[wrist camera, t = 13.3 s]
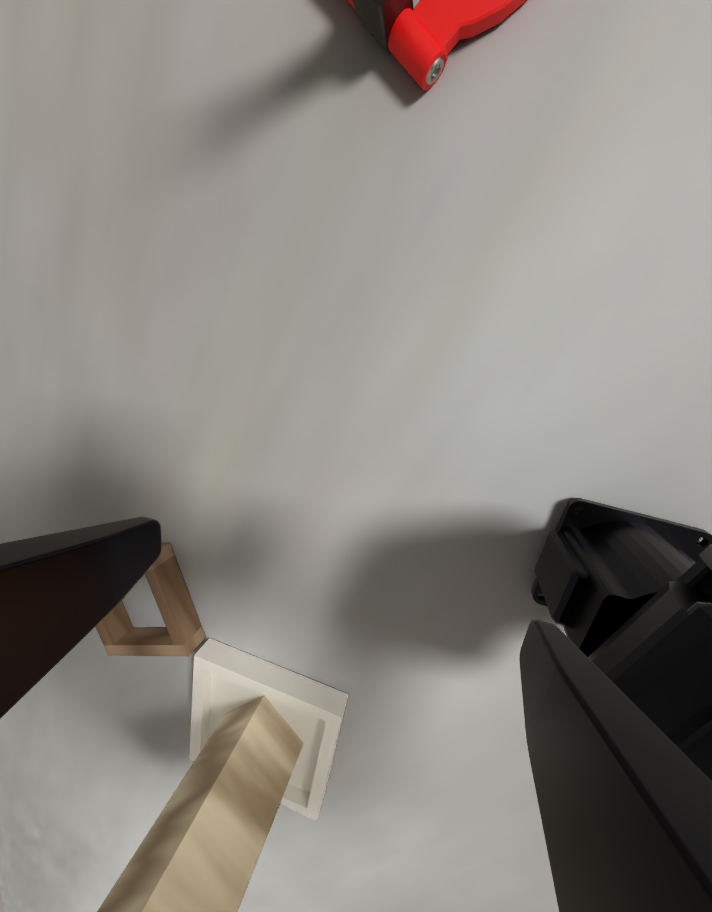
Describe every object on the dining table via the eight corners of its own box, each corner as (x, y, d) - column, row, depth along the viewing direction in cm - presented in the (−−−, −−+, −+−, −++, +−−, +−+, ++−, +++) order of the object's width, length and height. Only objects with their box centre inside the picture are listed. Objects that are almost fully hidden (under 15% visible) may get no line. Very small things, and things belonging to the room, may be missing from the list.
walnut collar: (169, 543, 27) (148, 556, 25) (205, 636, 29) (188, 656, 27) (92, 552, 30) (67, 565, 28) (129, 637, 31) (108, 655, 30)
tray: (348, 694, 26) (341, 717, 25) (324, 796, 30) (316, 821, 28) (209, 637, 29) (194, 655, 27) (203, 738, 32) (189, 759, 31)
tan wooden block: (264, 695, 28) (115, 957, 16) (303, 743, 28) (187, 1038, 16) (225, 713, 29) (65, 961, 17) (262, 758, 30) (130, 1033, 18)
